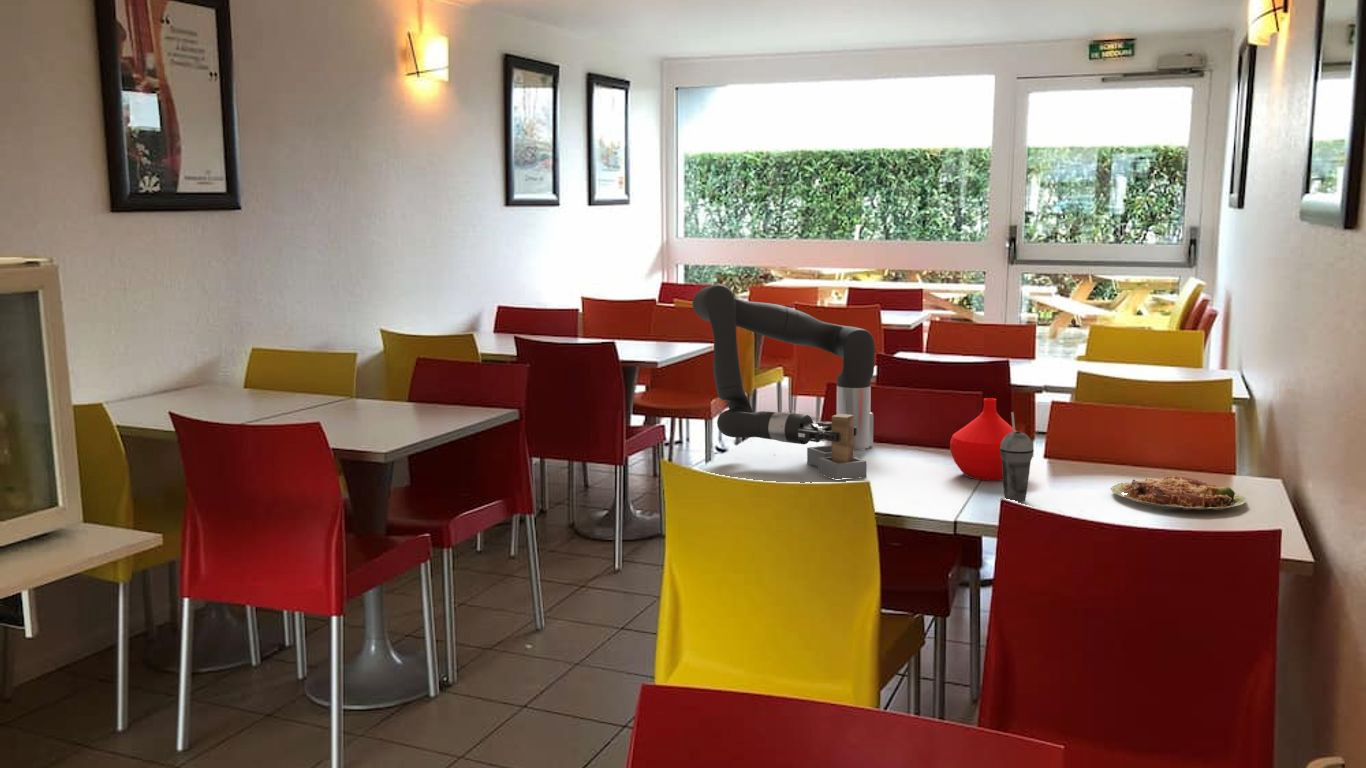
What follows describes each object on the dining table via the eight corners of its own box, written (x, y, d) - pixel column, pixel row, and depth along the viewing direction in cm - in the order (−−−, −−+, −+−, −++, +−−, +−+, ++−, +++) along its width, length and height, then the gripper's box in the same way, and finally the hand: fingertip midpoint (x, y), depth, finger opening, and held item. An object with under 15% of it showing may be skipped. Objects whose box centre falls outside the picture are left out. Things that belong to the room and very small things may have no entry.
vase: (1030, 486, 259) (1033, 406, 257) (950, 483, 263) (952, 404, 260) (1022, 469, 277) (1025, 393, 274) (948, 466, 281) (949, 392, 278)
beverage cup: (1036, 504, 243) (1039, 415, 240) (1002, 504, 244) (1005, 415, 241) (1026, 496, 251) (1029, 409, 248) (994, 496, 251) (997, 409, 248)
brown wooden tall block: (838, 468, 275) (839, 413, 273) (853, 470, 273) (853, 415, 271) (831, 472, 272) (831, 416, 270) (846, 473, 270) (846, 417, 268)
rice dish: (1132, 484, 266) (1133, 462, 265) (1259, 497, 248) (1260, 473, 248) (1093, 508, 244) (1093, 484, 243) (1228, 524, 227) (1229, 498, 226)
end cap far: (834, 459, 291) (835, 444, 290) (852, 465, 283) (853, 450, 282) (807, 462, 287) (807, 447, 286) (824, 469, 279) (824, 453, 279)
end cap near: (847, 470, 278) (847, 454, 278) (866, 477, 270) (866, 461, 270) (818, 473, 275) (818, 458, 274) (837, 480, 267) (837, 464, 266)
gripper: (776, 417, 273) (835, 424, 264) (804, 409, 285) (861, 414, 275) (776, 447, 274) (834, 454, 265) (804, 437, 286) (861, 444, 276)
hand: (848, 434), depth 270 cm, fingers open, 8 cm apart
